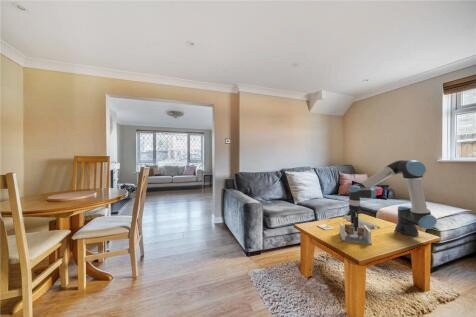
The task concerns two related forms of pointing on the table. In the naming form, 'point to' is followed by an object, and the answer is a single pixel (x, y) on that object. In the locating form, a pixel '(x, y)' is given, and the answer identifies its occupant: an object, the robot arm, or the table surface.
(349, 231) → the shelf block
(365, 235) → the peg frame
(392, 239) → the table surface
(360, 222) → the crown molding
